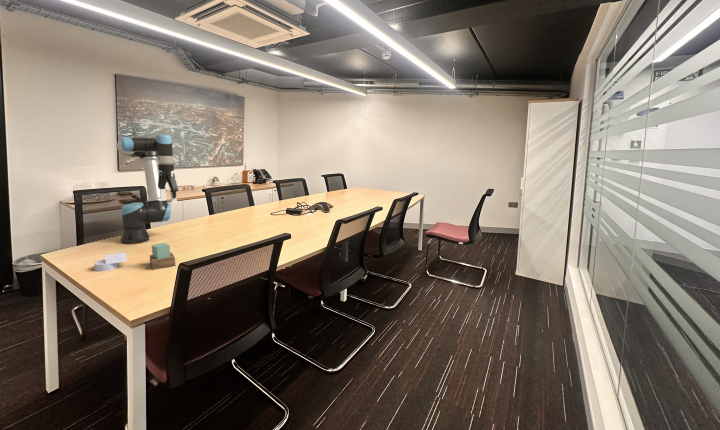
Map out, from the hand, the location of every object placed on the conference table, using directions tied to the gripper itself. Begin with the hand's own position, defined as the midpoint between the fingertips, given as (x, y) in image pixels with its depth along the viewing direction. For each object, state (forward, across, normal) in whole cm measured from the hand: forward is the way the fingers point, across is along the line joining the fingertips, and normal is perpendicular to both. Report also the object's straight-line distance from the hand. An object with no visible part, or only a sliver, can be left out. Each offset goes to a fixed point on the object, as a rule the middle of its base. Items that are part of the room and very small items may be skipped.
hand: (168, 202), depth 196 cm
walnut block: (+29, +19, -13) cm, 37 cm away
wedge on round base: (+29, +5, -31) cm, 43 cm away
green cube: (+24, +19, -13) cm, 33 cm away
